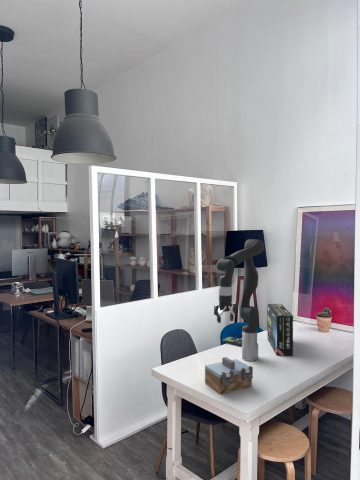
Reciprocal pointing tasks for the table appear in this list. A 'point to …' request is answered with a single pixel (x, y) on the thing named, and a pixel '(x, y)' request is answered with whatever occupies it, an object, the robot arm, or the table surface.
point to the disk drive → (233, 341)
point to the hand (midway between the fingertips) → (225, 321)
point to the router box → (280, 329)
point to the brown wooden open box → (229, 381)
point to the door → (227, 367)
